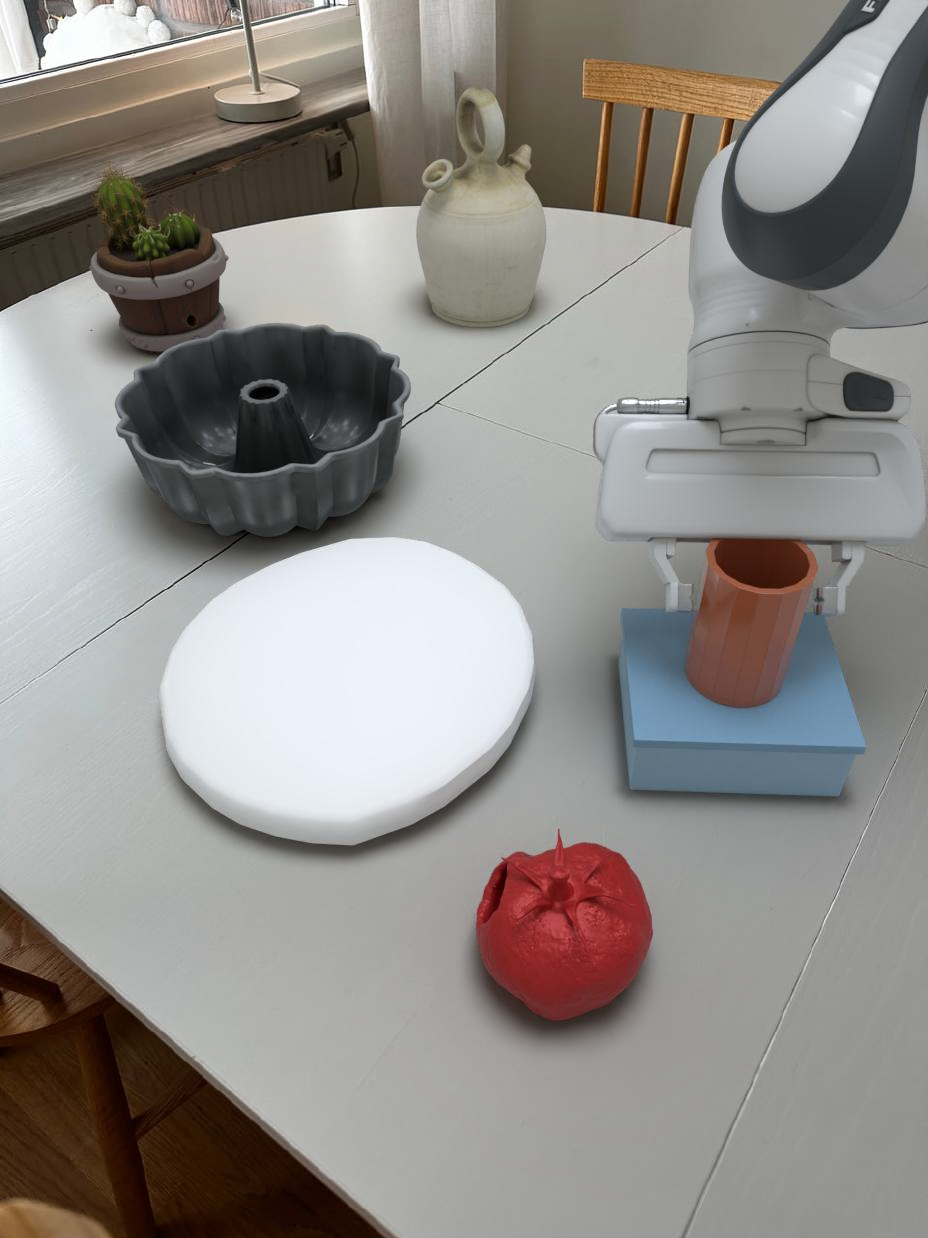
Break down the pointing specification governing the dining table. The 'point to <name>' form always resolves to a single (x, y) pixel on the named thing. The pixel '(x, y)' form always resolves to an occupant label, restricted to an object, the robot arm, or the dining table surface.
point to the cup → (748, 618)
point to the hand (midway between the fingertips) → (753, 614)
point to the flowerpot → (156, 269)
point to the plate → (347, 689)
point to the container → (733, 717)
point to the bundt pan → (266, 426)
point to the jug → (480, 225)
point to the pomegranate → (564, 928)
